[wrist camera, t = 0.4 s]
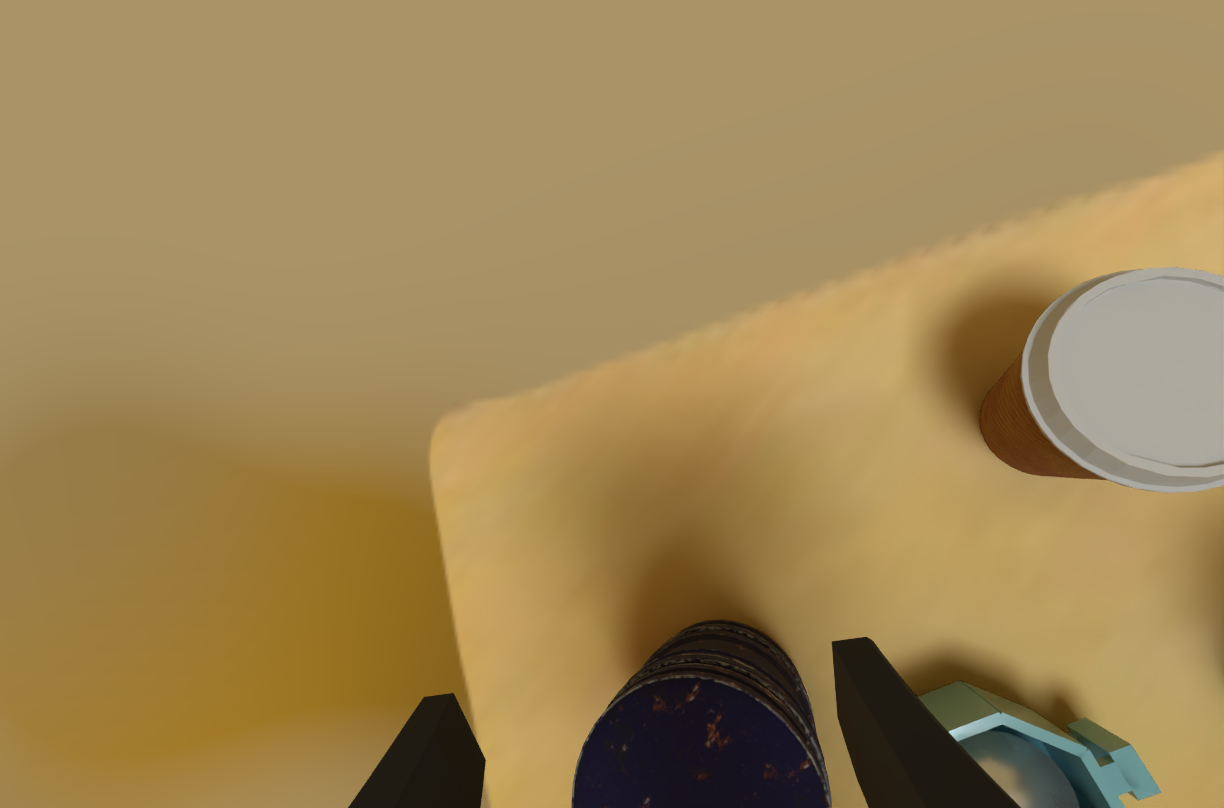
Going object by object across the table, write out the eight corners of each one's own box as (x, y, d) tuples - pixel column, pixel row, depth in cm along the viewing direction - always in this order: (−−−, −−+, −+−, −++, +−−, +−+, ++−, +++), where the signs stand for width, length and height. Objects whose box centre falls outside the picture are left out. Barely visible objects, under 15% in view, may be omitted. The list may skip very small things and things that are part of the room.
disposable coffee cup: (1024, 535, 33) (1156, 538, 22) (915, 400, 36) (982, 340, 25) (1180, 447, 32) (1404, 401, 21) (1054, 315, 35) (1191, 212, 24)
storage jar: (619, 734, 36) (526, 861, 22) (684, 588, 37) (632, 624, 23) (771, 830, 33) (773, 1050, 19) (837, 669, 34) (886, 766, 20)
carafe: (1139, 817, 29) (1227, 885, 24) (942, 885, 31) (981, 965, 25) (1036, 650, 32) (1094, 675, 26) (858, 720, 33) (877, 758, 28)
